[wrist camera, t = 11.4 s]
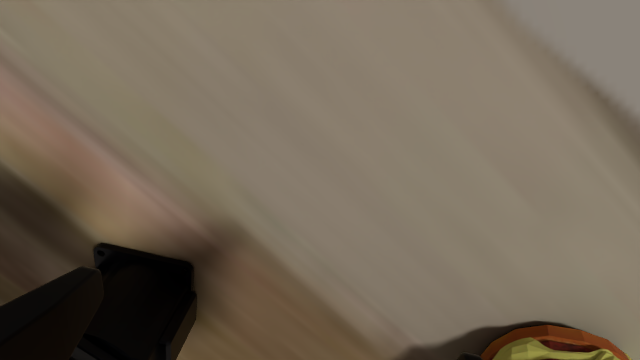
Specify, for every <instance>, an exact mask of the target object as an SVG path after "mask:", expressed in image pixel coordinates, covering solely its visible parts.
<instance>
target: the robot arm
mask: <svg viewBox="0 0 640 360" xmlns="http://www.w3.org/2000/svg"><path fill="white" fill-rule="evenodd" d="M93 252H94V259H95V266H96V268H91V267H87V266H82V267H79V268H77V269H75V270H73V271H71V272H69V273H67V274H65V275H63V276H61V277H59V278H57V279H55V280H53V281H51V282H49V283H47V284H45V285H43V286H41V287H39V288H36V289H34V290H32V291H30V292H28V293H26V294H24V295H22V296H20V297H18V298H16V299H14V300H12V301H10V302H8V303H6V304H4V305H2V306H0V360H176V359H177V357H178V355H179V353H180V351H181V348H182V346H183V344H184V342H185V340H186V338H187V336H188V334H189V332H190V330H191V328H192V326H193V324H194V322H195V320H196V307H197V295H196V293H195V291H193V288H194V267H193V266H192V265H191V264H190V263H188V262H184V261H180V260H175V259H171V258H166V257H162V256H157V255H153V254H149V253H144V252H140V251H135V250H131V249H126V248H122V247H117V246H113V245H108V244H104V243H100V244H98V245H97V246H96V247H95V249H94V251H93ZM184 269H185V270H184ZM186 270H187V271H186ZM457 360H483V359H482V358H481V357H480V356H479V355H476V354H471V353H467V352H463V353H461V354H460V355H459V357H458V359H457Z"/></svg>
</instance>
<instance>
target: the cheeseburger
mask: <svg viewBox="0 0 640 360" xmlns="http://www.w3.org/2000/svg"><path fill="white" fill-rule="evenodd" d="M480 357H481V358H482V359H483V360H632V359H631V358H630V357H629V356H628V355H627V354H626V353H624V352H622V351H621V350H620V349H618V348H617V347H616V346H615V345H614V344H612V343H611V342H610V341H609V340H607V339H604V338H601V337H598V336H595V335H593V334H590V333H587V332H584V331H582V330H577V329H570V328H564V327H558V326H552V325H542V326H534V327H527V328H520V329H515V330H513V331H511V332H509V333H508V334H506V335H504V336H502V337H500V338H499V339H497V340H495V341H493V342H492V343H491V344H490V345H489V346H488V347H487V349H486V350H485V351H484V352H483V353H482V355H481V356H480Z"/></svg>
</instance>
